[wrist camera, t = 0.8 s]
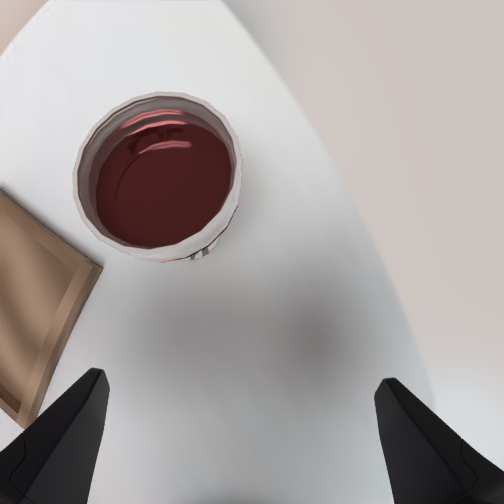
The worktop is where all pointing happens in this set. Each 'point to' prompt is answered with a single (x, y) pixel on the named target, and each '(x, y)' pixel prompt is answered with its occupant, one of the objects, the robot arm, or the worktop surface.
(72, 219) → the worktop surface
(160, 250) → the wineglass
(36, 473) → the robot arm
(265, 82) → the worktop surface
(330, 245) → the worktop surface
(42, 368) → the tray
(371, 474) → the worktop surface
